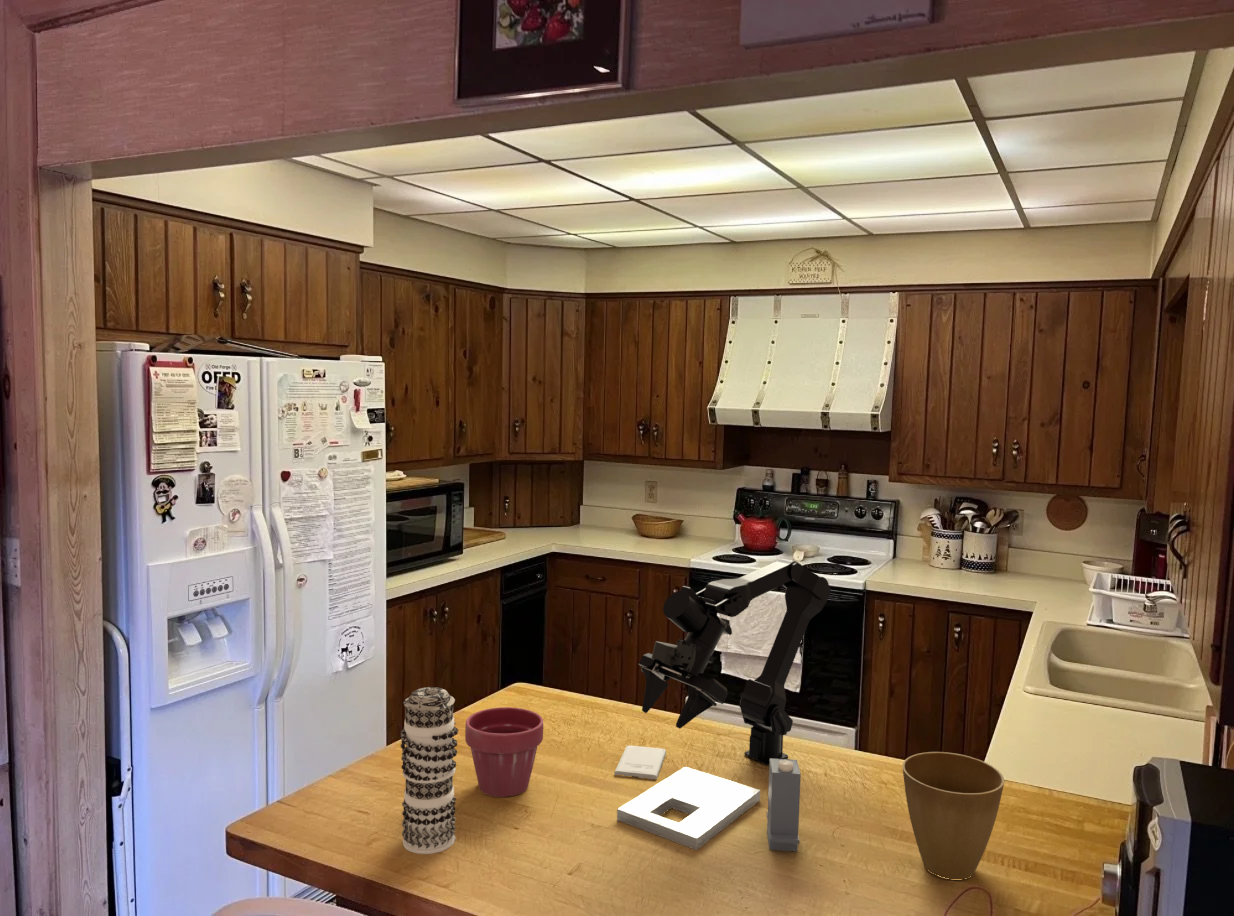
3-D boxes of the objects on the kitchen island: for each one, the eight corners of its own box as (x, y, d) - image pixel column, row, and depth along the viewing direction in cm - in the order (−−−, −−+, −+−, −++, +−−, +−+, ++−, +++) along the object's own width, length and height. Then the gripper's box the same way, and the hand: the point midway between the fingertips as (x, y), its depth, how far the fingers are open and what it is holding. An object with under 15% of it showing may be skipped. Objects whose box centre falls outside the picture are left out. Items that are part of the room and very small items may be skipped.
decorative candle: (457, 825, 154) (458, 681, 152) (457, 853, 145) (458, 700, 143) (402, 828, 153) (402, 683, 150) (398, 857, 143) (398, 703, 141)
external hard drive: (665, 756, 185) (656, 782, 173) (626, 752, 187) (614, 778, 175) (666, 748, 185) (656, 774, 173) (626, 744, 187) (614, 769, 174)
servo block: (766, 827, 155) (769, 748, 154) (792, 829, 155) (795, 749, 154) (770, 855, 146) (773, 771, 145) (798, 857, 146) (802, 772, 145)
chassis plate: (684, 776, 175) (685, 766, 174) (759, 800, 165) (760, 790, 165) (616, 820, 157) (617, 808, 157) (696, 850, 147) (696, 838, 147)
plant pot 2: (905, 836, 153) (910, 744, 152) (1001, 858, 147) (1007, 762, 145) (890, 879, 140) (895, 779, 138) (995, 905, 133) (1001, 800, 132)
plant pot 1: (533, 766, 178) (533, 702, 177) (550, 798, 164) (551, 729, 163) (459, 775, 173) (459, 709, 172) (471, 808, 160) (472, 738, 159)
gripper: (641, 612, 172) (601, 686, 168) (711, 635, 158) (669, 717, 153) (675, 639, 179) (637, 711, 174) (745, 664, 164) (706, 743, 159)
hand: (660, 719), depth 165 cm, fingers open, 9 cm apart
